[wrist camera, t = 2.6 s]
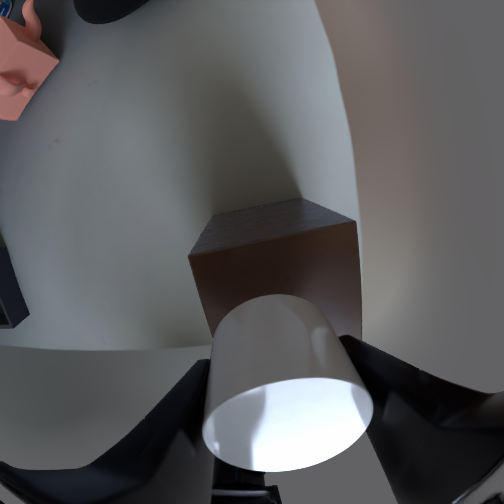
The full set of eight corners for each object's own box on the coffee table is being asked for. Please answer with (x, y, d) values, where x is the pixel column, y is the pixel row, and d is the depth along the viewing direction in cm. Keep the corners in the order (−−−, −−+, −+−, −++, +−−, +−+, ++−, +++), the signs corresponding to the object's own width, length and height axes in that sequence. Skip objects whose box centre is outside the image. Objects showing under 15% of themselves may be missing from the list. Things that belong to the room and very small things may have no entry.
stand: (315, 282, 22) (362, 354, 13) (232, 299, 22) (228, 384, 13) (302, 197, 20) (356, 220, 11) (211, 216, 20) (186, 255, 11)
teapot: (101, 38, 15) (54, -1, 7) (9, 163, 17) (-50, 169, 9) (56, 2, 12) (18, -26, 4) (-21, 106, 15) (-67, 102, 7)
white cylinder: (278, 403, 10) (291, 480, 6) (189, 355, 9) (169, 442, 6) (355, 334, 9) (401, 407, 6) (266, 267, 9) (287, 342, 5)
